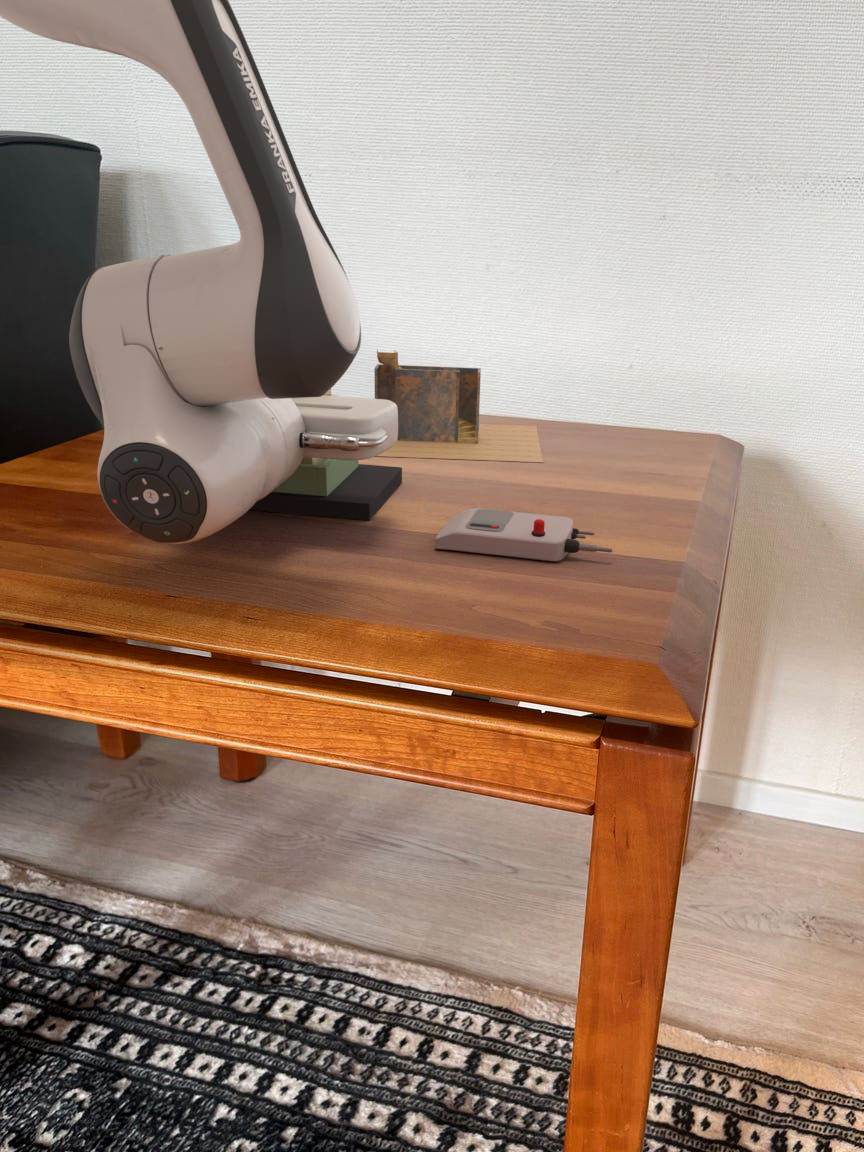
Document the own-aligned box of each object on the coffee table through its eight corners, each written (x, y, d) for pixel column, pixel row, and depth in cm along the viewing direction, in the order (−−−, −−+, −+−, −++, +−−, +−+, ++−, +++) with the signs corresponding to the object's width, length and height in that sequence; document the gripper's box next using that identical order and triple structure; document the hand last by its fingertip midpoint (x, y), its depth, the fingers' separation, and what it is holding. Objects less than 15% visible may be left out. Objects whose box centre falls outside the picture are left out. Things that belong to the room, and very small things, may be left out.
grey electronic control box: (433, 522, 87) (434, 487, 86) (617, 541, 84) (620, 506, 83) (412, 547, 81) (412, 510, 80) (609, 569, 78) (612, 531, 77)
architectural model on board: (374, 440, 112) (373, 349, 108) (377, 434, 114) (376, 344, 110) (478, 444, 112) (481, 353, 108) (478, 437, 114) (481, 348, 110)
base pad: (190, 505, 89) (187, 460, 87) (242, 469, 99) (239, 428, 98) (369, 520, 87) (369, 474, 85) (402, 482, 97) (402, 441, 96)
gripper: (376, 405, 75) (417, 372, 88) (116, 387, 78) (191, 358, 90) (377, 488, 78) (416, 445, 90) (125, 468, 81) (197, 428, 93)
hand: (302, 401), depth 90 cm, fingers closed on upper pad, 4 cm apart
